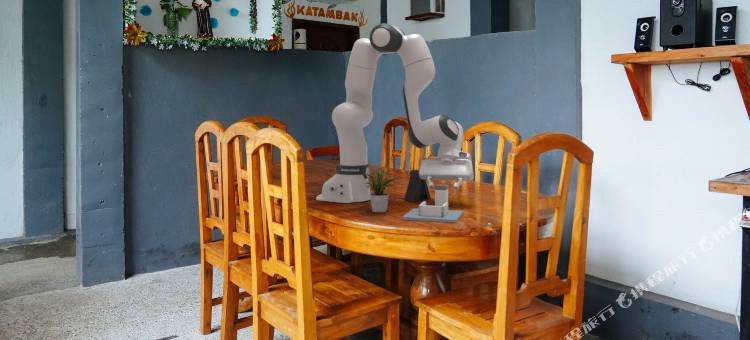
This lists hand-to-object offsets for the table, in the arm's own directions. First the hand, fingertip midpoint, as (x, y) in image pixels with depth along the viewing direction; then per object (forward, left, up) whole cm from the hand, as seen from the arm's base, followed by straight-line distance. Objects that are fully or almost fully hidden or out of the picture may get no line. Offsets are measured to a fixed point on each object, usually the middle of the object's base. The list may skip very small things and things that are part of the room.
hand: (443, 188), depth 208 cm
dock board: (0, -15, -7) cm, 17 cm away
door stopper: (-13, +14, -8) cm, 20 cm away
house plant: (-21, -12, -8) cm, 26 cm away
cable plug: (0, -2, -8) cm, 8 cm away
